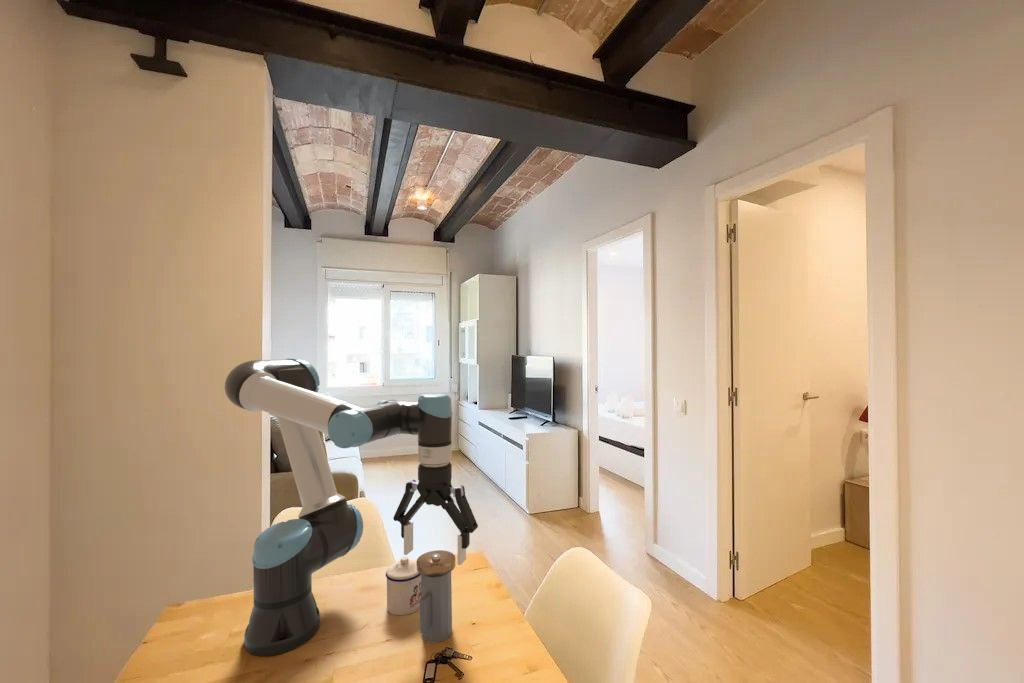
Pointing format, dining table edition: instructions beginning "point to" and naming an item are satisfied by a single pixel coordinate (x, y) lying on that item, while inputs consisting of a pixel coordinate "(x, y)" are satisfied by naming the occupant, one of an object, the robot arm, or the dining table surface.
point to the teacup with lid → (403, 587)
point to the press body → (436, 607)
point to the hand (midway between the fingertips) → (434, 557)
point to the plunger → (436, 563)
